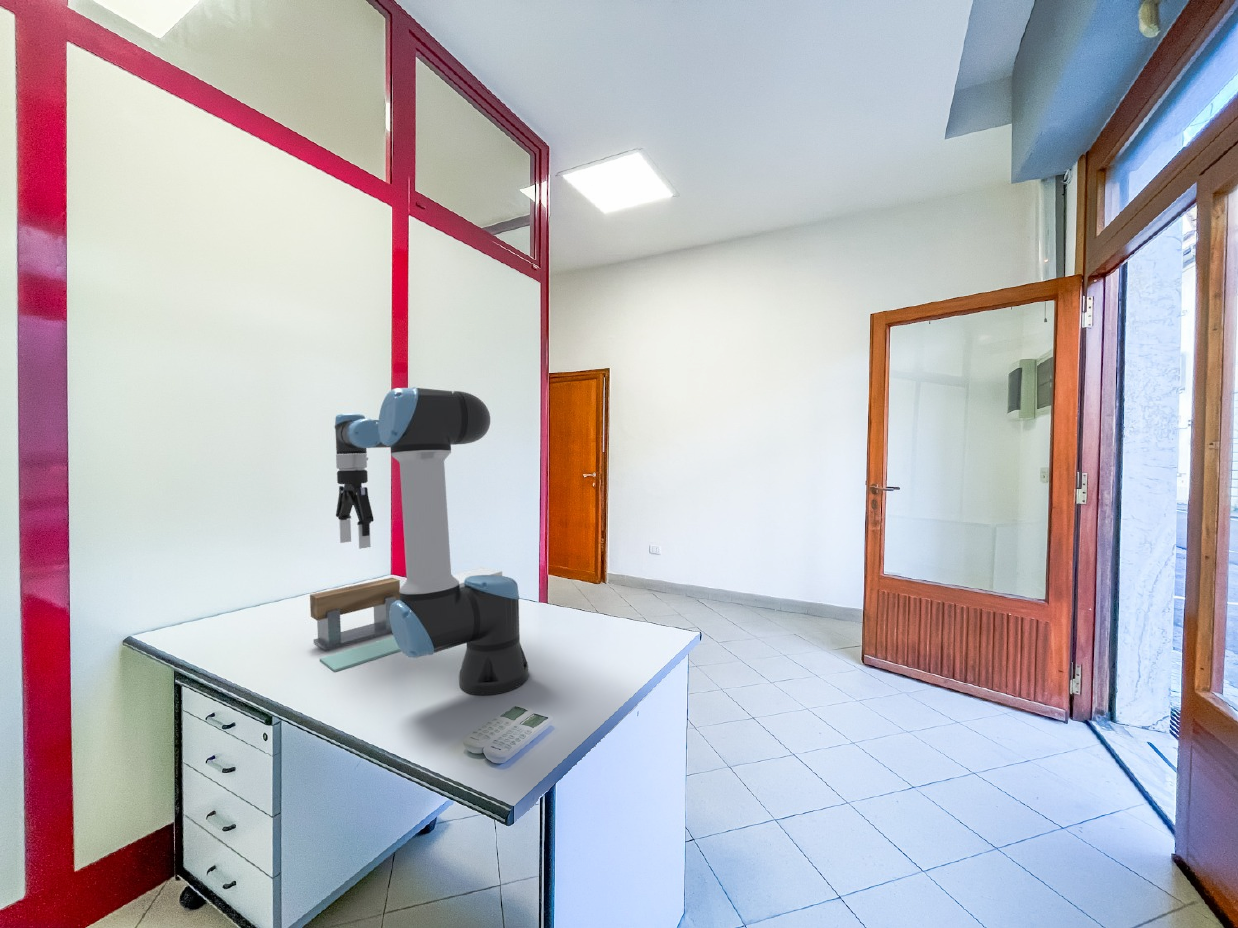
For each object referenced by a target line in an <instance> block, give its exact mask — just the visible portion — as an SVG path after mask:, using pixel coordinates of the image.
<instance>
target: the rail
mask: <svg viewBox="0 0 1238 928" xmlns="http://www.w3.org/2000/svg"><path fill="white" fill-rule="evenodd" d="M400 582H401V581H400V579H397V578H394V577H389V578H384V579H378V580H375V581H369V582H364V583H361V584H355V585H350V586H345V587H340V588H336V589H335V588H334V589H331V590H330V589H329V590H327V591H321V592H320V591H319V592H315V593H311V594H309V605H310V606H309V608H310V609H309V610H310V617H311V619H313V620H316V622H317V621H318V620H322V619H326V612H327V611H331V610H335V609H340V616H341V615H346V614H350V613H354V612H358V611H359V612H360V611H362V610H366V609H372V608H374V607H375V606H379V605H383V604H384V598H387V597H391V596H396V601H397V600H400V596H399V589H400V588H401V583H400Z"/></svg>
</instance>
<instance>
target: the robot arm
mask: <svg viewBox="0 0 1238 928" xmlns="http://www.w3.org/2000/svg"><path fill="white" fill-rule="evenodd" d="M490 414H491V413H490V411H489V409H488V407H487V406H486V404H485V402H484V401H482V400H481V399H480V398H479V397H477V396H476V395H474V394H471V393H469V392H466V391H461V390H455V391H454V390H443V389H433V388H431V389H430V388H422V387H395V388H393V389H391V390H390V391H389V392H388V393H387V394H386V395H385V397H384V399H383V401H382V404H381V406H380V410H379V416H378V419H371V418H366V417H365V415H363V414H360V413H340V414H337V415H335V419H334V420H335V421H334V423H335V424H334V429H335V433H334V434H335V451H336V454H335V458H336V459H335V462H336V469H338V470H337V471H336V481H337V484H338V485H340V486H338V498H337V505H336V513H335V517H336V518H337V519H338V520H339V542H340V544H344V543H349V542H352V530H351V529H352V527H351V526H352V525H351V524H352V523H351V519H352V516H351V512H352V509H353V508H354V510H355V513H356V516H357V518H358V521H357V523H356V525H357V529H358V546H359V547H358V549H367V548H371V523H372V522H374V515H373V511H372V506H371V503H370V498H369V492H368V487H366V486H364V487H363V486H362V485H363V484H366V483H368V471H367V469H366V468H367V467H368V462H367V461H368V460H369V457H367V456H368V455H367V454H368V453H367V449H376V448H378V449H379V448H380V449H381V448H382V449H383V448H390V456H391V457H393V458H394V459H395V460H396V461H397V462H398V463H399V473H400V489H401V506H402V507H401V510H402V521H403V522H402V524H403V538H404V541H403V542H404V557H405V573H406V580H405V583H404V584H403V585H402V586H400V589H399V596H400V600H397V601H395V602H394V603H392V604H391V606H390V611H389V618H390V625H391V629H392V632H391V633H392V634H393V636H392V637H394V638H395V641H396V643H397V645H398V647H399V648H400V650H401V651H400V652H402V654H404V655H405V656H406V657H408V658H412V659H417V658H420V657H424V656H427V655H428V656H432V655H434V654H435V653H440V652H443V651H446V650H449V649H452V648H454V647H458V646H461V645H465V644H466V649H465V653H464V656H463V660H462V663H461V667H460V670H459V675H458V680H459V683H458V685H459V687H460V689H461V690H462V691H464V692H465V693H468V694H472V695H478V696H490V695H491V696H492V695H498V694H503V693H506V692H510V691H512V690H515V689H517V688H519V687H520V686H522V685H523V684H525V682H526V681H527V680H528V679H529V664H528V661H527V658H526V655H525V653H524V650H523V648H522V644H521V641H520V639H521V638H520V636H521V635H520V634H521V633H520V602H519V601H520V593H519V588H518V587H519V586H518V583H517V581H516V580H515V579H513V578H511V577H509V576H504V575H502V576H498V575H475V576H470V577H467V578H466V579H465V581H464V585H465V586H464V587H460V586H459V581H458V580H457V579H456V578H454V577H453V576H452V566H451V565H452V564H451V549H450V533H449V519H448V503H447V487H446V470H445V469H446V467H445V460H446V459H447V458H448V457H449V455H451V453H452V446H453V445H454V446H456V445H467V444H472V443H474V442H477V441H479V440H481V439H482V438H483V437H485V435H487V432H488V431H489V429H490V425H491V415H490Z"/></svg>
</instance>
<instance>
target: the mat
mask: <svg viewBox="0 0 1238 928" xmlns="http://www.w3.org/2000/svg"><path fill="white" fill-rule="evenodd" d="M398 652H402V651H401V650H400V648H399V647H398V645H397V643H396V641H395V638H394V636H390V637H387V638H384V639H381V640H378V641H374V642H371V643H368V644H364V645H360V646H358V647H355V648H351V649H350V648H349V649H347V650H343V651H340V652H337V653H334V654H330V655H327V656H324V657H320V658H319V662H320V663H322V664H323V665H325V667H327V668H328V669H330V671H332V672H333V673H336V672H339V671H342V670H346V669H348V668H352V667H355V666H357V665H361V664H364V663H367V662H370V661H374V660H376V659H380V658H383V657H385V656H388V655H392V654H396V653H398Z"/></svg>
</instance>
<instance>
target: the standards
mask: <svg viewBox="0 0 1238 928" xmlns="http://www.w3.org/2000/svg"><path fill="white" fill-rule="evenodd" d="M395 601H396V596H391V597H387V598H384V604H383V605H379V606H375V607H373V623H370V624H367V625H362V626H359V627H355V628H351V629H347V630H343V631H341V629H342V628H341V615H340V609H335V610H331V611H327V612H326V619H322V620H318V621H317V620H316V623H317V624H316V625H317V638H314V639H313V640H312V641H313V644H314V643H315V644H314V645H316V646H317V647H318V648H320V650H323V651H324V652H327V651H331V650H335V649H339V648H342V647H345V646H349V645H352V644H356V643H359V642H363V641H366V640H369V639H373V638H376V637H381V636H383V635H386V634H387V635H388V634H390V633H391V634H392V633H393V632H392V629H391V625H390V618H389V611H390V606H391V604H392V603H394V602H395Z"/></svg>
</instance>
